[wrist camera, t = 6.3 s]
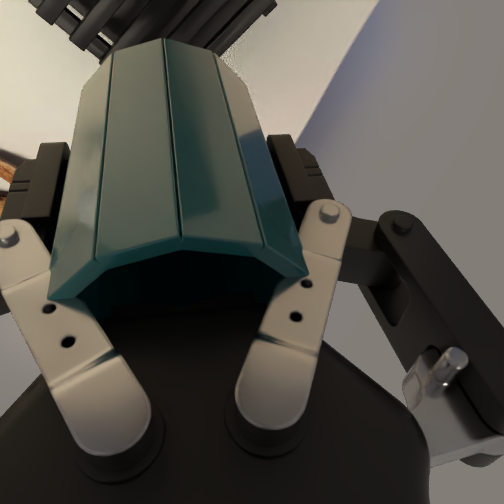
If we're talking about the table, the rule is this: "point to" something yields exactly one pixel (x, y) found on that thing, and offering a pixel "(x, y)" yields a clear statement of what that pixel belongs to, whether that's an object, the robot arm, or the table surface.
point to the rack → (153, 22)
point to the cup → (169, 187)
